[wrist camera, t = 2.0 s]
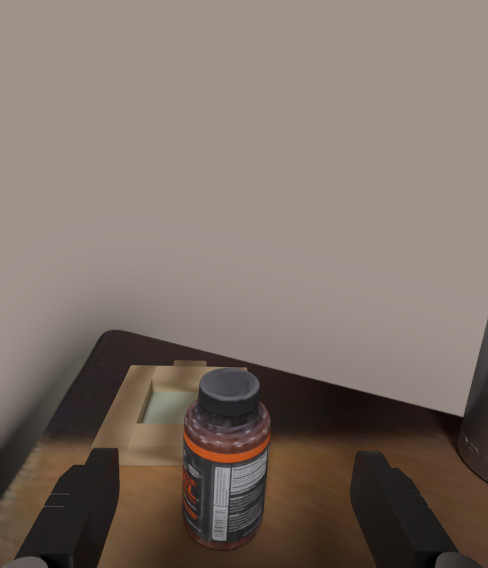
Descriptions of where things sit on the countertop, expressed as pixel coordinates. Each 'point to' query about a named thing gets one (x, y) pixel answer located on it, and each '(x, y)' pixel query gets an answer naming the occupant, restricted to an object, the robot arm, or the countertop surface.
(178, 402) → the holder
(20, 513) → the countertop surface
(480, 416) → the robot arm
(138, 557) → the countertop surface
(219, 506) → the supplement bottle
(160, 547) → the countertop surface
